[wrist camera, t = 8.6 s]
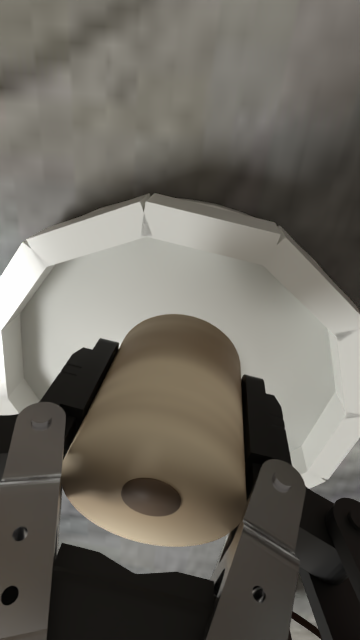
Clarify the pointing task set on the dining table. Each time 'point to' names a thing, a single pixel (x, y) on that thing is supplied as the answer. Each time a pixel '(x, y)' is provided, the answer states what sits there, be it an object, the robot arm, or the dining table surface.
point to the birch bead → (164, 438)
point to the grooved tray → (189, 309)
